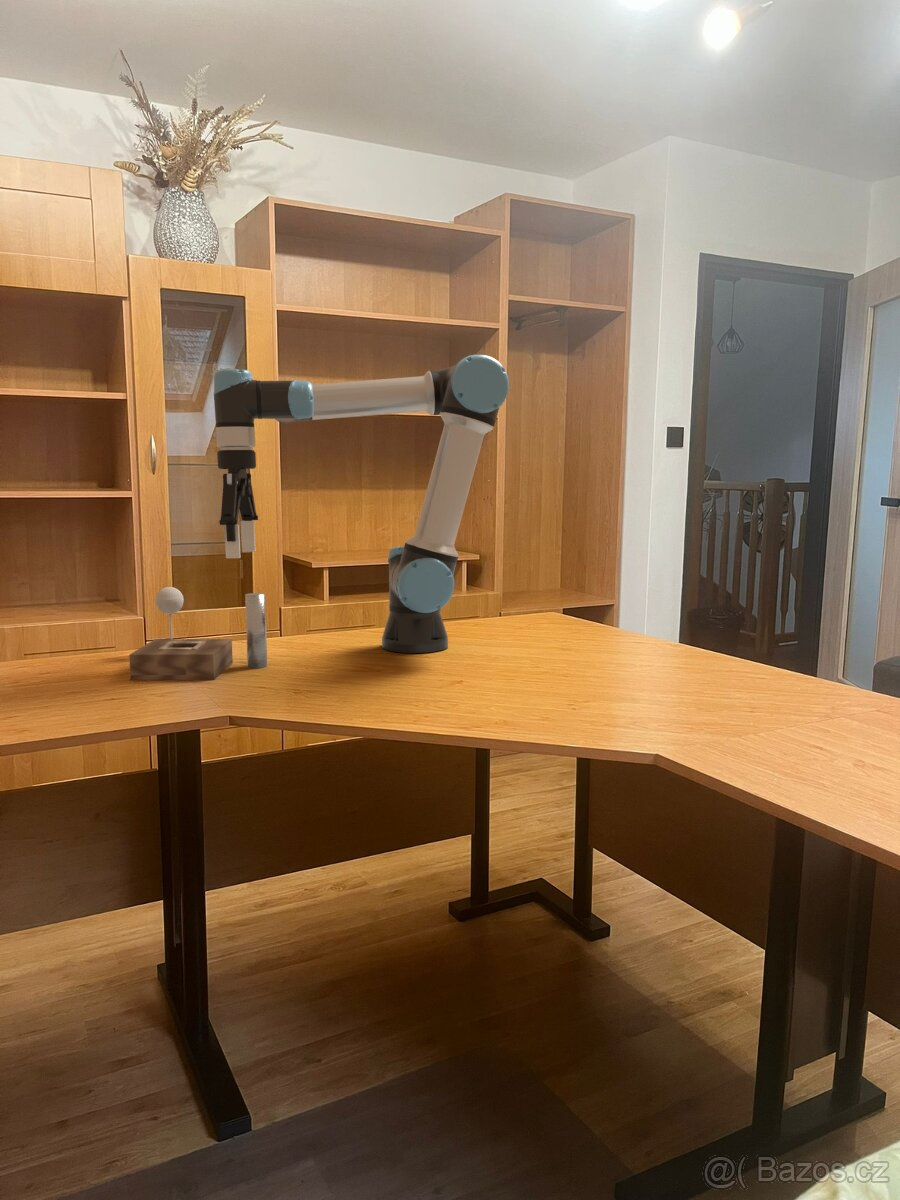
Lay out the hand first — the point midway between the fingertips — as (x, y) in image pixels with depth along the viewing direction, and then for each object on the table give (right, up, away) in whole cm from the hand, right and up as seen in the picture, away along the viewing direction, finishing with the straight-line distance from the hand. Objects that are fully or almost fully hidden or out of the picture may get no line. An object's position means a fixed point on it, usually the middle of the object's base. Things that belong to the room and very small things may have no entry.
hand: (241, 555), depth 183 cm
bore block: (-11, -23, -2) cm, 26 cm away
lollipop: (-18, -21, +14) cm, 31 cm away
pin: (+3, -23, +2) cm, 23 cm away
